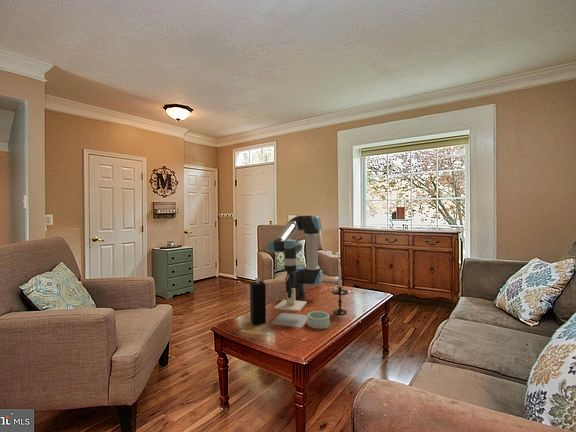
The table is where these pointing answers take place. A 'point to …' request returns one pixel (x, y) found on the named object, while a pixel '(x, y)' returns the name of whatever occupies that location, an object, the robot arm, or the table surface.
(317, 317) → the bowl
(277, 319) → the mat
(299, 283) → the robot arm
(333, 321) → the table surface
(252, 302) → the black block
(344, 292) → the candlestick
